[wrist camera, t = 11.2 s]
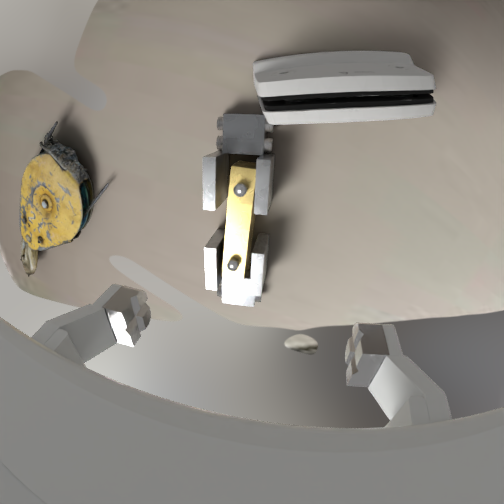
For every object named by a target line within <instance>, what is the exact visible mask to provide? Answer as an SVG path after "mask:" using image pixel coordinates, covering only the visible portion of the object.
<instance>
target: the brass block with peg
mask: <svg viewBox="0 0 504 504" xmlns="http://www.w3.org/2000/svg"><path fill="white" fill-rule="evenodd" d="M255 181H256V163H255V162H247V161H238V162H236V163H235V164H233V165H232V166H231V172H230V183H229V193H228V205H227V216H226V228H225V240H224V253H223V267H222V277H228V278H233V279H238V280H244V277H245V274H246V271H247V268H248V265H249V261H250V253H251V245H252V238H253V230H254V222H255V214H254V200H255Z"/></svg>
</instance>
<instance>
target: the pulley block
mask: <svg viewBox="0 0 504 504" xmlns="http://www.w3.org/2000/svg"><path fill="white" fill-rule="evenodd" d="M57 124H58V122H56V123H55V124H54V126H53V127H52V128H51V131H50V132H49V133H47V135H46V136H45V140H44V145H43V143H42V142H40V146H41V147H42V150H41V152H40V154H39V155H37V156H35V157H34V158H33V159H32V160H31V161H30V162H29V164H28V165H27V167H26V169H25V171H24V174H23V178H22V183H21V196H20V231H21V235H22V241H21V260H22V263H23V267H24V269H25V271H26V273H27V274H28V276H29V275H31V274H34V272H35V271H36V267H37V260H38V250H40V251H43V250H46V249H49V248H53V247H56V246H59V245H63V244H66V243H70V242H72V241H73V239H75V238H78V237H79V235H80V233H81V231H80V230H81V229H83V228H84V227H85V226H86V225H87V224H88V222H89V219H90V217H91V213H92V209H93V205H94V203H95V202H96V201H97V200H98V198H99V197H100V196H101V194H102V193H103V192H104V190H105V189H106V188H107V187H108V184H109V183H107V184H106V186H105V187H104V188H103V189H102V190H101V192H100V193H99V195H98V196H97V197H96V198H95V199H94V200H93V187H92V182H91V180H90V178H89V175H88V174H87V172H86V170H87V169H84V167H83V165H81V164H80V163H79V162H78V158H77V155H76V153H75V150H72V149H71V148H70V147H65V146H64V145H62V144H60V143H59V141H58V140H54V139H53V136H52V133H53V131H54V129H55V127H56V125H57ZM51 136H52V138H51ZM48 143H52V145H49V144H48Z"/></svg>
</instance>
